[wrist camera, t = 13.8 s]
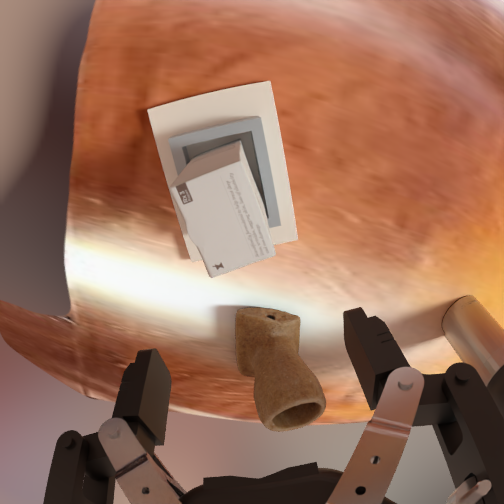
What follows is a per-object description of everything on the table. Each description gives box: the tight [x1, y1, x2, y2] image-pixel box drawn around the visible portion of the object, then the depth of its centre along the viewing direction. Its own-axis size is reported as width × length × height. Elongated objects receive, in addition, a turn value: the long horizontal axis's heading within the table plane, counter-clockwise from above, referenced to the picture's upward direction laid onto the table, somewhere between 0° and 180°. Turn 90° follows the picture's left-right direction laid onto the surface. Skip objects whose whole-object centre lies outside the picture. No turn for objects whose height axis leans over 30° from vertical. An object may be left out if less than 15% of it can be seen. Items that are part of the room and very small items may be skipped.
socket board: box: [147, 81, 298, 262], centre depth 36 cm, size 20×14×4 cm
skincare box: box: [169, 139, 276, 278], centre depth 30 cm, size 8×6×15 cm
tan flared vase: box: [235, 307, 326, 432], centre depth 43 cm, size 15×12×15 cm
